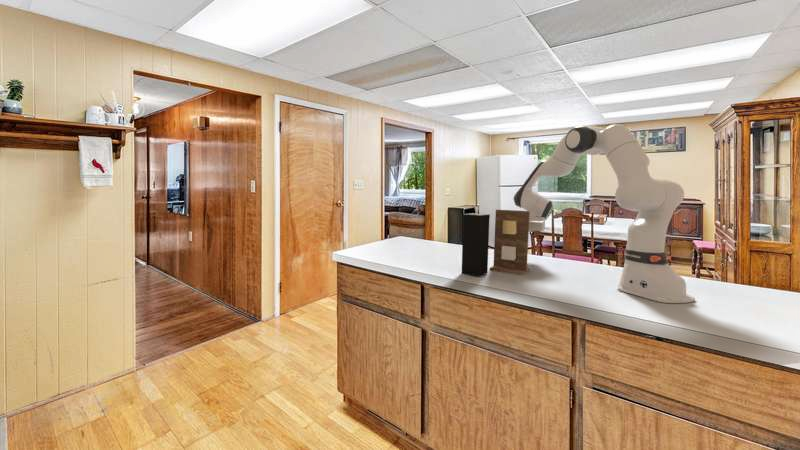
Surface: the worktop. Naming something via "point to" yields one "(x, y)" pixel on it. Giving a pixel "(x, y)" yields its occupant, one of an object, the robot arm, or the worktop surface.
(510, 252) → the lower button
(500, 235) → the call panel
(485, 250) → the tall black box
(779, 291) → the worktop surface
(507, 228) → the upper button
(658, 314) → the worktop surface
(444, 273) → the worktop surface
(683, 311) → the worktop surface
